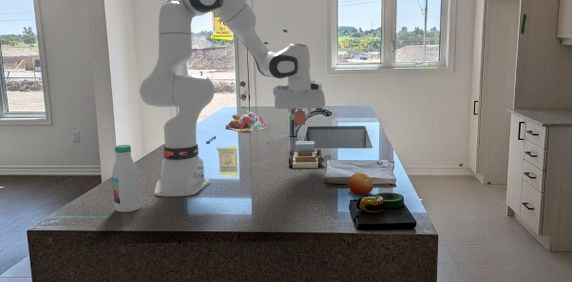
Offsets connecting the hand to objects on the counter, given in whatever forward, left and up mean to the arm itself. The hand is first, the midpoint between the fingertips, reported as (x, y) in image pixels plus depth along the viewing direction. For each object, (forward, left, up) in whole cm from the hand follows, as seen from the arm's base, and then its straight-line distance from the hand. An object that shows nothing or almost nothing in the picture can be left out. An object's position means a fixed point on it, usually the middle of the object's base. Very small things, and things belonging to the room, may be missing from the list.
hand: (300, 119), depth 206 cm
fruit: (-42, -20, -19) cm, 50 cm away
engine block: (0, 0, -2) cm, 2 cm away
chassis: (+3, -2, -19) cm, 19 cm away
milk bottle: (-54, +53, -19) cm, 78 cm away
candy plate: (+89, +32, -19) cm, 97 cm away
